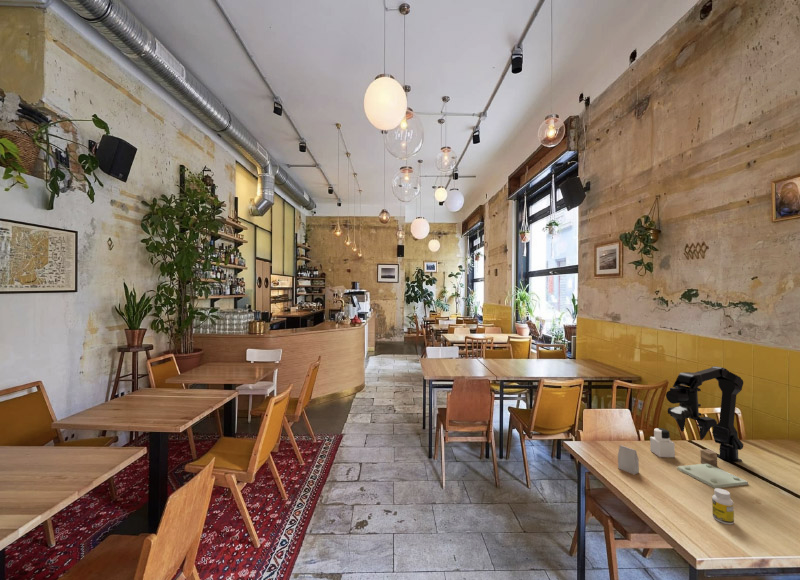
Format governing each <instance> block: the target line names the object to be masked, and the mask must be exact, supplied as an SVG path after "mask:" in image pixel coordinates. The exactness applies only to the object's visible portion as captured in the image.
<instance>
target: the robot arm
mask: <svg viewBox="0 0 800 580" xmlns="http://www.w3.org/2000/svg"><path fill="white" fill-rule="evenodd" d="M714 379H715V380H716V381H717V382H718V388H719V389H720V391H721V399H720V400H721V402H720V410H719V421H718V420H716V419H715V418H713V417H709V416H702V413H701V412H699V408H701V404H700V403H699V399H698V397H699V396H698V395H699V394H698V392H701V391H702V390H701V388H699V387H700V386H702V385H703V383H704V382H706V381H710V380H714ZM743 386H744V380H743V379H742V377H740V376H739V375H737V374H735V373H733V372H731V371H730V370H728V369H727V368H725V367H721V366H711V367H710V368H707V369H702V370H699V371H696V372H688V371H687V372H680V373H679V374H678V376H676V379H675V382H674V383H673V385H672V387H670V388H669V390H668V391H666V393H665V397H666V399H667V401H668V402H669V403H671V404H678V406H672V407H671V406H670V407H668V409H667V414H668V415H669V416H670V417H672V418H673V419H674V420H675V421H676V423H677V426H678V427H679V430H680V431H681V432H685V427H686V419H691V420H693V421H696V422H697V424H696V426H697V427H698V428H699V429H698V430H699V437H700V440H704V439H705V437H706V436H707V434H708V432H709V431H710V430H711V428H712V431H711V434H712V437H713V439H714V442H715V443H716V444H719V449H718V450H719V454H717V458H719V459H720V458H721V459H722V460H725V461H727V462H730V463H737V462H743V460H742V459H741V458H739V451H741V450H743V449H744V443H743V442H742V441H741V440H740V439H739V436H738V435H739V434H738V431H737V429H736V427H735V425H734V423H735V415H736V403H737V395H738V394H739V393H740V392H742V391H743V390H742V389H743ZM717 421H718V422H717Z"/></svg>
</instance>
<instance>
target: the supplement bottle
mask: <svg viewBox="0 0 800 580" xmlns="http://www.w3.org/2000/svg"><path fill="white" fill-rule="evenodd" d="M713 490H714V491H713V492H714V494H713V495H712V497H711V503H712V516H713V519H714V520H716V521H717V522H719V523H722V524H724V525H733V524H734V523H735V513H734V511H735V510H734V509H735V506H734V500H732V499H731V493H730V492H729V490H726V489H723V488H714V489H713Z"/></svg>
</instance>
